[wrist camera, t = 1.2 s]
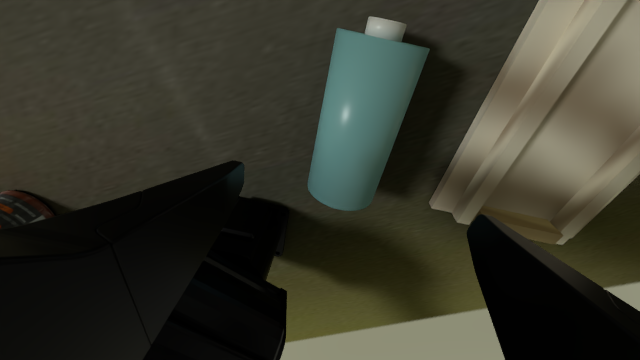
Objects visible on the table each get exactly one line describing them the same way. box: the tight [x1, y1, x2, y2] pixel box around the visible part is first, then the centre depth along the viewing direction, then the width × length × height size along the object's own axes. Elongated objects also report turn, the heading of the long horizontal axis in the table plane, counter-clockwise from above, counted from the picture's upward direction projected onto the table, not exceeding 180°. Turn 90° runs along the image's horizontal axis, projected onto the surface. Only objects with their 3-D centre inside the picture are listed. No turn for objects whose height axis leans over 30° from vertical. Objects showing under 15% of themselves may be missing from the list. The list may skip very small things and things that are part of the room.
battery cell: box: [308, 16, 430, 211], centre depth 16 cm, size 11×5×5 cm, turn 169°
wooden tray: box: [429, 0, 640, 245], centre depth 15 cm, size 18×12×3 cm, turn 169°
